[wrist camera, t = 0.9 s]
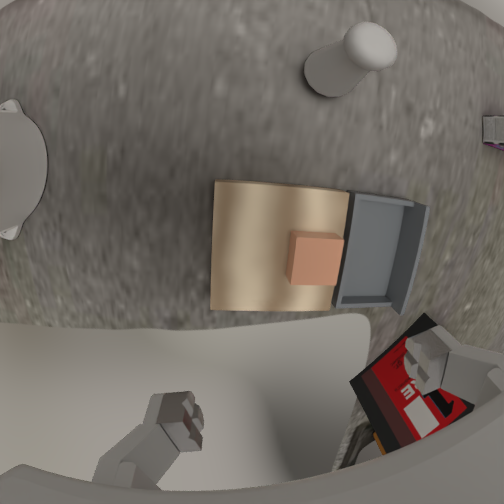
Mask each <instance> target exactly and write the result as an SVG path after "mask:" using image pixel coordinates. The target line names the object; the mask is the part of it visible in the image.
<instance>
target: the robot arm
mask: <svg viewBox="0 0 504 504" xmlns="http://www.w3.org/2000/svg"><path fill="white" fill-rule="evenodd" d="M46 176H47V152H46V147H45V143H44V139H43V136H42V134H41V132H40V130H39V129H38V127H37V126H36V124H35V123H34V122H33V121H32V120H30V119H29V118H28V117H27V116H25V115H24V113H23V111H22V109H21V106H20V104H19V102H18V101H17V100H16V99H10V100H8V101H6V102H4V103H3V104H1V105H0V237H2V238H5V239H8V240H13V239H16V238H17V237H18V236H19V233H20V231H21V228H22V225H23V222H24V221H25V219H26V218H27V217H28V216H29V215H30V214H31V213H32V212H33V210H34V209H35V208H36V206H37V204H38V202H39V200H40V198H41V196H42V193H43V190H44V186H45V182H46ZM405 347H406V348H407V350H408V351H407V353H406V354H405V356H404V365H405V369H406V372H407V374H408V375H409V377H410V378H413V379H416V382H415V385H416V387H417V388H418V390H419V391H420V392H421V394H422V395H425V394H427V393H429V392H432V391H434V390H436V389H438V388H440V387H441V389H443V390H445V391H447V392H449V393H451V394H453V395H455V396H458V397H460V398H462V399H464V400H466V401H468V402H470V403H472V404H475V407H474V409H473V412H471V413H469V414H468V415H466V416H464V417H463V418H461V419H459V420H457V421H456V422H454V423H452V424H450V425H448V426H447V427H445V428H443V429H441V430H439V431H437V432H435V433H433V434H431V435H429V436H427V437H425V438H423V439H421V440H418V441H416V442H414V443H412V444H410V445H407V446H405V447H403V448H400V449H398V450H395V451H393V452H390V453H388V454H385V455H383V456H380V457H378V458H375V459H372V460H369V461H366V462H363V463H360V464H357V465H354V466H351V467H347V468H344V469H340V470H337V471H333V472H330V473H326V474H322V475H318V476H314V477H309V478H305V479H300V480H295V481H290V482H285V483H279V484H272V485H266V486H258V487H250V488H242V489H229V490H213V491H164V490H161V489H160V488H159V487H158V486H157V485H156V484H157V483H158V481H159V480H160V479H161V477H162V476H163V475H164V474H165V472H166V471H167V470H168V469H169V467H170V466H171V465H172V463H173V462H174V461H175V460H176V458H177V457H178V456H179V454H180V452H192V451H201V449H202V435H201V434H200V431H201V430H202V429H203V427H204V419H203V414H202V411H201V408H200V407H199V405H197V404H195V397H194V395H193V393H192V392H191V391H185V392H173V393H164V394H153V395H152V396H151V398H150V402H149V405H148V408H147V411H146V415H145V418H144V421H143V424H140V425H138V426H137V427H136V428H135V429H134V430H133V431H131V432H130V433H129V434H128V435H127V436H125V437H124V438H123V439H122V440H121V441H120V442H118V443H117V444H116V445H115V446H114V447H113V448H111V449H110V450H109V451H108V452H107V453H105V454H104V455H103V456H102V457H101V458H100V459H99V462H98V465H97V468H96V470H95V473H94V476H93V479H92V482H89V481H84V480H79V479H74V478H70V477H66V476H62V475H58V474H54V473H51V472H47V471H44V470H41V469H38V468H35V467H32V466H28V465H25V464H21V465H18V466H16V467H14V468H12V469H10V470H8V471H7V472H5V473H4V474H2V475H0V504H504V354H503V353H499V352H494V351H490V350H486V349H482V348H478V347H474V346H470V345H466V344H465V345H463V346H462V345H461V344H460V343H459V342H458V341H457V340H456V339H455V338H454V337H453V336H452V335H451V334H450V333H449V332H448V331H446V330H445V329H444V328H443V327H442V326H440V325H438V326H435V327H433V328H431V329H429V330H427V331H424V332H422V333H419V334H417V335H414V336H412V337H409V338H407V340H406V344H405Z"/></svg>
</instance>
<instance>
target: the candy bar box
mask: <svg viewBox="0 0 504 504" xmlns="http://www.w3.org/2000/svg"><path fill="white" fill-rule="evenodd" d="M482 125H483V144H486V145H489V146H492V147H495V148H498V149H500V150H503V151H504V116H483V117H482Z"/></svg>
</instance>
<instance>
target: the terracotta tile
mask: <svg viewBox="0 0 504 504" xmlns="http://www.w3.org/2000/svg"><path fill="white" fill-rule="evenodd" d="M343 245H344V239H342V238H341V237H340V236H338V235H337V234H336V233H324V232H308V231H291V235H290V243H289V252H288V260H287V268H286V277H287V279H288V281H289V283H290V285H336V283H337V278H338V273H339V268H340V262H341V257H342V251H343Z"/></svg>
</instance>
